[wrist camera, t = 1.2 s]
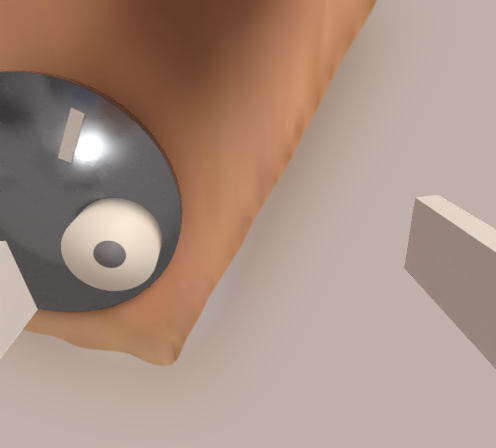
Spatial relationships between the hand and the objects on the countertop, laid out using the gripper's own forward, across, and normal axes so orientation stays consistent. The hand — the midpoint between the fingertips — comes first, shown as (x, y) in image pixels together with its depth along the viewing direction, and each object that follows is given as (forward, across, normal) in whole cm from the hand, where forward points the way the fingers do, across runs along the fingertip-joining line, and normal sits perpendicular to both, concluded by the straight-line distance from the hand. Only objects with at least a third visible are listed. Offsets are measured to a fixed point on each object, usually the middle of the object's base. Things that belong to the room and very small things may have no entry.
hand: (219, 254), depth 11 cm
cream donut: (+23, -12, -10) cm, 28 cm away
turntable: (+24, -18, -6) cm, 31 cm away
